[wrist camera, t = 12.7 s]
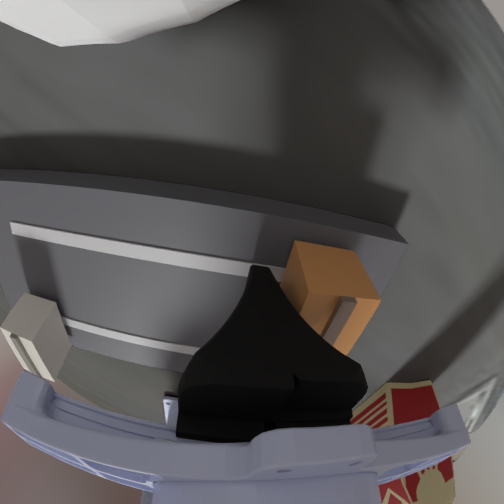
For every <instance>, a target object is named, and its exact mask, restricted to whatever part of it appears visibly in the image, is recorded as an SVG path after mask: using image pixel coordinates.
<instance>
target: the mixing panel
mask: <svg viewBox="0 0 504 504" xmlns="http://www.w3.org/2000/svg"><path fill="white" fill-rule="evenodd" d="M295 240H297V241H302V242H308V243H313V244H319V245H324V246H330V247H335V248H341V249H346V250H351V251H355V253H356V255H357V257H358V258H359V260H360V262H361V264H362V265H363V267H364V269H365V271H366V272H367V274H368V276H369V278H370V280H371V282H372V283H373V285H374V287H375V289H376V291H377V293H378V295H379V297H380V298H381V297H382V295H383V293H384V291H385V289H386V288H387V286H388V284H389V282H390V280H391V278H392V276H393V275H394V273H395V271H396V269H397V267H398V265H399V263H400V261H401V259H402V257H403V255H404V253H405V251H406V249H407V247H408V245H409V244H408V243H407V242H406V241H405V239H404V238H403V237H402V236H401V235H400V234H399V233H398V231H397V230H396V229H395V228H394V227H392V226H389V225H385V224H381V223H377V222H373V221H369V220H365V219H361V218H357V217H352V216H348V215H344V214H340V213H335V212H331V211H326V210H322V209H317V208H313V207H308V206H303V205H298V204H294V203H289V202H284V201H278V200H273V199H268V198H263V197H257V196H252V195H246V194H241V193H235V192H229V191H223V190H217V189H211V188H204V187H198V186H191V185H184V184H177V183H170V182H162V181H155V180H147V179H138V178H129V177H120V176H111V175H100V174H89V173H77V172H63V171H47V170H27V169H0V282H1V285H2V287H3V290H4V292H5V295H6V297H7V300H8V302H9V305H10V307H11V309H13V307H14V306H15V304H16V303H17V302H18V300H19V299H20V298H21V296H22V295H23V294H24V292H25V293H28V294H31V295H34V296H37V297H40V298H44V299H47V300H50V301H53V302H56V304H57V307H58V310H59V313H60V316H61V319H62V322H63V324H64V327H65V330H66V332H67V335H68V338H69V340H70V343H71V345H72V346H75V347H78V348H82V349H85V350H88V351H92V352H95V353H98V354H102V355H106V356H109V357H113V358H117V359H121V360H125V361H129V362H133V363H138V364H142V365H146V366H151V367H156V368H161V369H166V370H171V371H177V372H183V373H184V371H185V369H186V367H187V365H188V364H189V362H190V360H191V359H192V357H193V356H194V354H195V352H196V351H198V350H199V349H200V348H201V347H202V346H203V345H205V344H206V343H207V342H208V341H209V340H210V339H211V338H212V337H213V336H214V335H215V334H216V333H217V332H218V330H219V329H220V328H221V327H222V326H223V325H224V323H225V322H226V321H227V319H228V318H229V317H230V315H231V314H232V312H233V311H234V309H235V308H236V306H237V304H238V302H239V301H240V299H241V297H242V295H243V293H244V290H245V286H246V282H247V277H248V273H249V269H250V266H252V265H259V266H265V267H269V268H270V270H271V271H272V273H273V275H274V277H275V279H276V280H277V282H278V284H279V285H280V284H281V281H282V278H283V275H284V272H285V269H286V266H287V263H288V259H289V256H290V253H291V250H292V247H293V244H294V241H295Z"/></svg>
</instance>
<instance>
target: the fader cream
mask: <svg viewBox="0 0 504 504" xmlns="http://www.w3.org/2000/svg"><path fill="white" fill-rule="evenodd" d="M0 329H1V330H2V332H3V334H4V336H5V338H6V339H7V341H8V343H9V345H10V347H11V348H12V350H13V352H14V353H15V355H16V357H17V358H18V359H19V361H20V363H21V365H22V366H23V368H24V369H26V370H28V371H30V372H32V374H34V375H36V376H38V377H40V378H42V377H44V378H46V379H48V380H51V381H53V382H55V381H56V379H57V377H58V374H59V372H60V370H61V368H62V365H63V363H64V361H65V359H66V357H67V355H68V353H69V350H70V348H71V346H72V345H71V343H70V340H69V338H68V335H67V332H66V330H65V327H64V324H63V322H62V319H61V316H60V313H59V310H58V307H57V304H56V302H53V301H50V300H47V299H44V298H40V297H37V296H34V295H31V294H28V293H25V292H24V294H23V295H22V296H21V298H20V299H19V300H18V302H17V303H16V304H15V306H14V307H13V309H12V310H11V311H10V313H9V314H8V316H7V317H6V319H5V320H4V322H3V323H2V325H1V326H0Z"/></svg>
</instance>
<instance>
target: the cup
mask: <svg viewBox="0 0 504 504" xmlns="http://www.w3.org/2000/svg"><path fill="white" fill-rule="evenodd" d="M238 1H240V0H0V21H2V22H4V23H6V24H8V25H10V26H12V27H14V28H16V29H18V30H21V31H23V32H26V33H28V34H31V35H33V36H35V37H38V38H40V39H42V40H44V41H47V42H49V43H51V44H54V45H57V46H60V47H62V46H72V45H84V44H107V43H124V42H129V41H131V40H134V39H137V38H140V37H143V36H146V35H149V34H153V33H156V32H160V31H163V30H167V29H170V28H174V27H178V26H182V25H187V24H191V23H196V22H198V21H200V20H202V19H203V18H205V17H207V16H209V15H211V14H213V13H215V12H217V11H219V10H221V9H223V8H225V7H227V6H229V5H231V4H233V3H235V2H238Z"/></svg>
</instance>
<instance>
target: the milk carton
mask: <svg viewBox="0 0 504 504" xmlns="http://www.w3.org/2000/svg"><path fill="white" fill-rule="evenodd" d="M439 409H440V405H439V402H438V399H437V396H436V393H435V390H434V387H433V384H432V382H431V380H427V381H421V382H415V383H392V382H386V383H385V384H384V385H383V386H382V387H381V388H380V389H378V390H377V391H376V392H375V393H374V394H373V395H372V396H370V397H369V398H368V399H367V400H366V401H365V402H363V403H362V404H361V405H360V406H359V407H357V408H356V409H355V410H354V411H353V412H352V414H353V418H352V419H350V423H351V424H366V425H368V426H370V427H371V428H372V429H374V428H380V427H386V426H392V425H397V424H402V423H407V422H411V421H415V420H420V419H424V418H428V417H431V415H432V414H433V413H434V412H436V411H437V410H439ZM379 491H380V496H381V502H382V504H452V502H453V500H454V498H455V482H454V471H453V462H452V455H451V456H450V457H448V458H447V459H445V460H443V461H441V462H440V463H438V464H435V465H433V466H431V467H428V468H426V469H423V470H420V471H418V472H415V473H413V474H410V475H407V476H404V477H402V478H399V479H396V480H393V481H390V482H387V483H384V484H380V485H379Z"/></svg>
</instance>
